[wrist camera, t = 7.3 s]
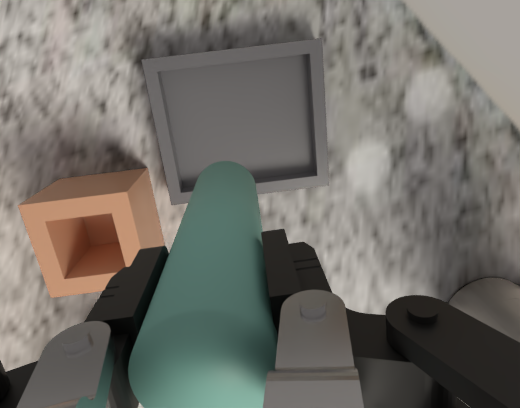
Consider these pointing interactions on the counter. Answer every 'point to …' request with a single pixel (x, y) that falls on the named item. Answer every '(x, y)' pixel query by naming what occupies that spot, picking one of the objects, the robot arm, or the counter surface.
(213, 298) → the dowel
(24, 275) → the counter surface
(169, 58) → the tray
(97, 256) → the pot
